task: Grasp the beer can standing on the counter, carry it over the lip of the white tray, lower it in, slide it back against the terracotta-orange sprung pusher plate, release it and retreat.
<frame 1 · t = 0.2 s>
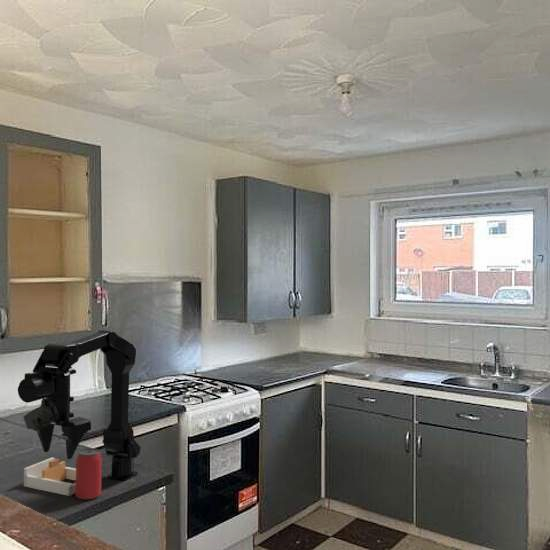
hand: (57, 455, 143), 14 cm above the counter, fingers open, 9 cm apart
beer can: (88, 496, 153), on the counter
pusher: (53, 471, 161), point 3 cm above the counter, slide at 0.0 cm
white tray: (59, 484, 160), on the counter
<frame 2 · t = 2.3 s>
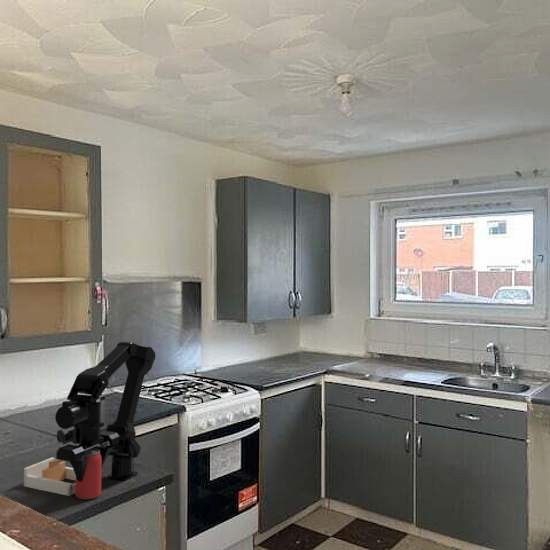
hand: (88, 477, 153), 5 cm above the counter, fingers closed on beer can, 7 cm apart
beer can: (88, 496, 153), on the counter, touching gripper
everything else where it was.
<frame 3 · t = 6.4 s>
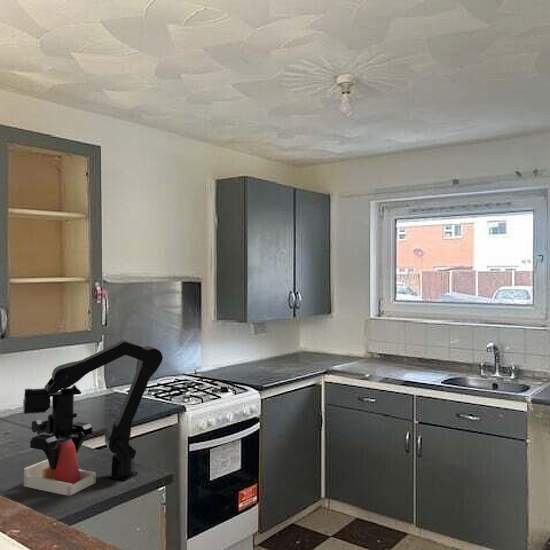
hand: (62, 465, 160), 5 cm above the counter, fingers closed on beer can, 7 cm apart
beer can: (68, 484, 159), resting in white tray, touching gripper
everything else where it was.
when the fingers open (6 cm above the counter, at t = 8.8 s): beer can stays where it is, resting in white tray.
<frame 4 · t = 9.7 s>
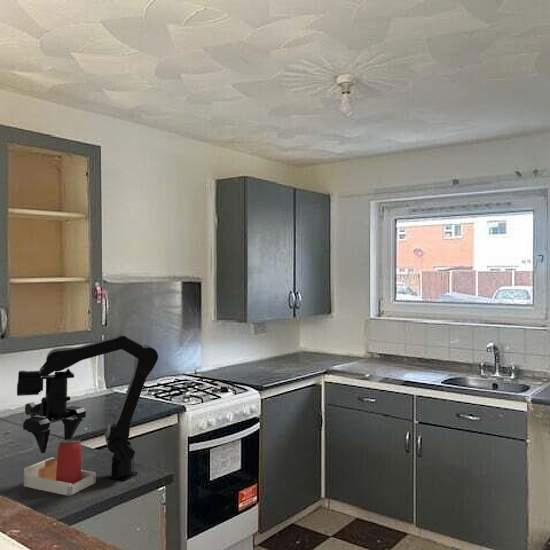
hand: (55, 448, 161), 10 cm above the counter, fingers open, 9 cm apart
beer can: (68, 485, 159), resting in white tray
pusher: (50, 471, 162), point 3 cm above the counter, slide at 1.4 cm
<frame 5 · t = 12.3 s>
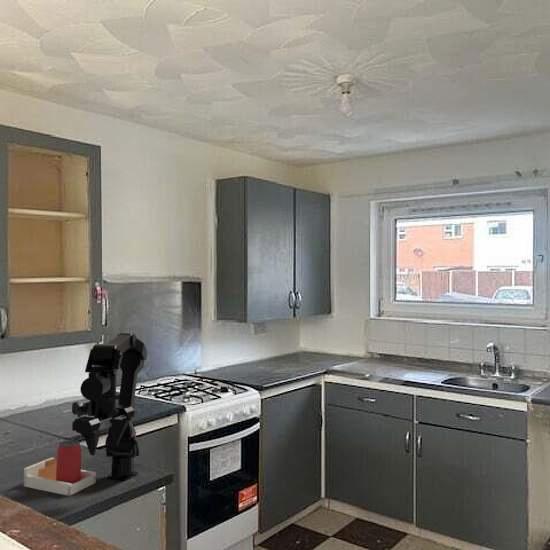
hand: (104, 450, 151), 13 cm above the counter, fingers open, 9 cm apart
at the end: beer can inside the target area on the white tray (4.0 cm from its centre), point 0.0 cm above the white tray's base; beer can tilted 2°; pusher slide at 1.4 cm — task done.
